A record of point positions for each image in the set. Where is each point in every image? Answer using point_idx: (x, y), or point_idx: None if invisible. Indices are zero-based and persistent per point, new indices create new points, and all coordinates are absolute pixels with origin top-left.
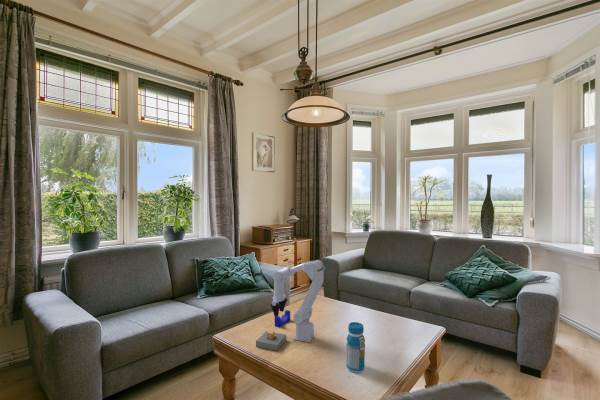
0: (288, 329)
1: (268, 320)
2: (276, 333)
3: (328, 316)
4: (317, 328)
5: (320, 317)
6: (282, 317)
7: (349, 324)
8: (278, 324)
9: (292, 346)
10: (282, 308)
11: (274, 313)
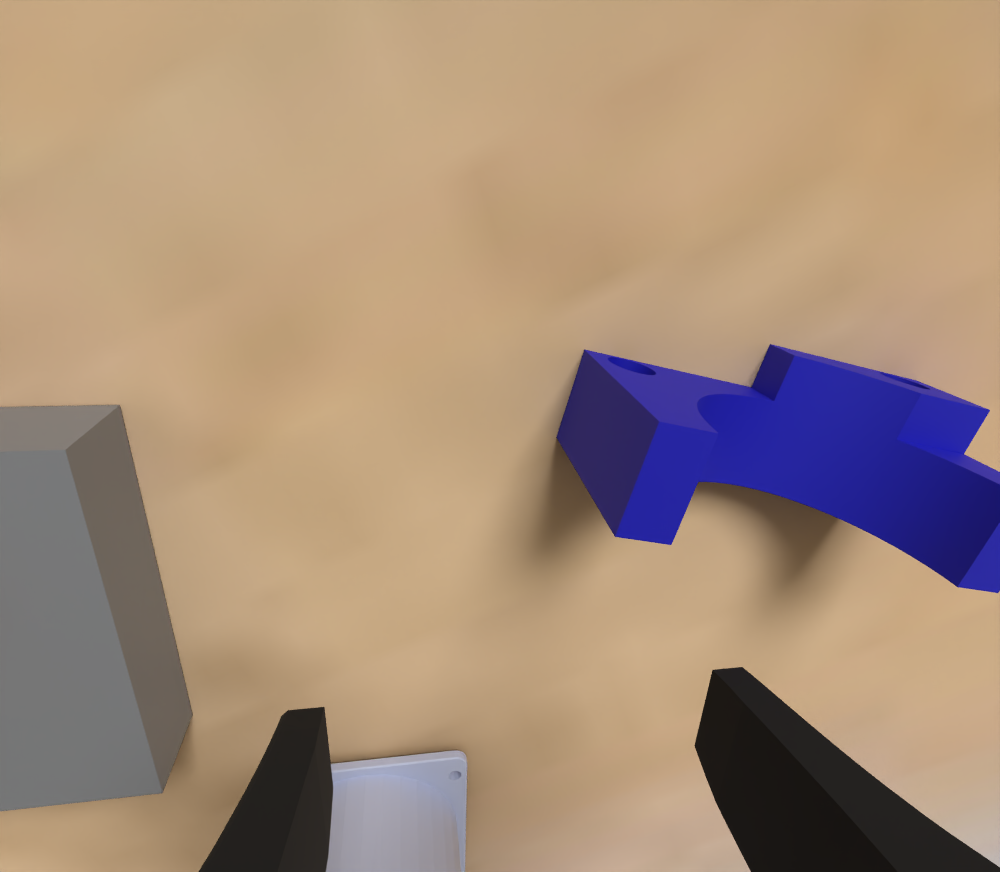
0: (532, 600)
1: (809, 104)
2: (102, 657)
3: (984, 809)
4: (662, 840)
5: (958, 762)
6: (867, 409)
7: None
8: (571, 457)
9: (84, 829)
10: (749, 823)
11: (253, 811)
